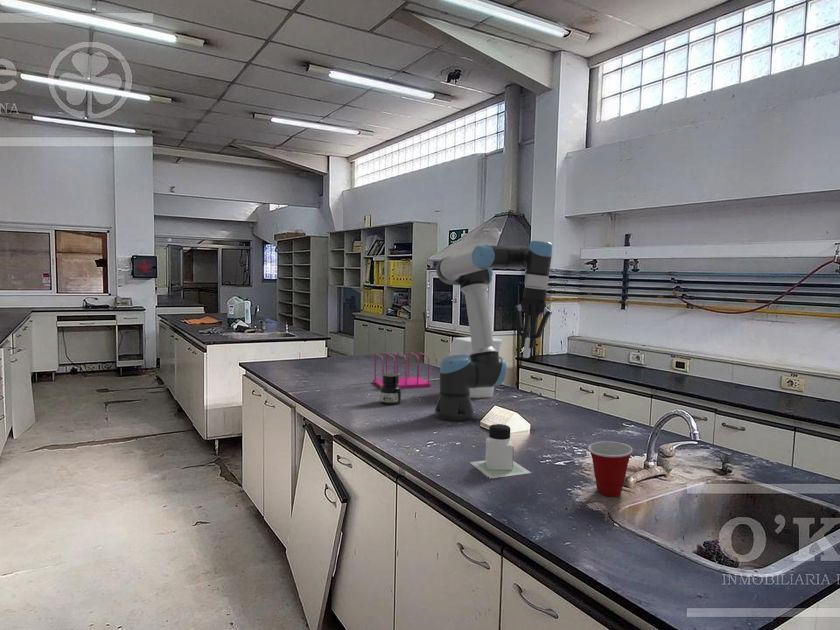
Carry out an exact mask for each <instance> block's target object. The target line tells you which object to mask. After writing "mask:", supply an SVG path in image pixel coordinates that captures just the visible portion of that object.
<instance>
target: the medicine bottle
mask: <svg viewBox="0 0 840 630" xmlns="http://www.w3.org/2000/svg"><path fill="white" fill-rule="evenodd" d="M488 435H489V436H488V437H487V438H485V460H486V464H487V468H488V470H513V461H514V445H513V442H512V440H511V427H510V426H509V425H507V424H505V423H493V424H491V425H490V426H489V433H488Z"/></svg>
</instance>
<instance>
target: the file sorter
mask: <svg viewBox="0 0 840 630" xmlns="http://www.w3.org/2000/svg"><path fill="white" fill-rule="evenodd" d="M410 354H412V355H413V356H415V357H416V359H417V360H416V361H417V364H416V365H417V366H416V367H417V370H416V376H410V375H409V373H410V372H409V371H410ZM399 355H400V356H403V357H404V368H405V369H404V374H405V376H404V377H403V376H402V377H399V383H398V385H399V386H400V387H401V389H412V388H411V387H417V388H430V387H431V385H432V383H430V357H429V355H427V354H425V353H423V352H418V355H417V354H416V353H415V352H412V351H408V354H407V357H406V355H405V354H403V353H401V352H397V353H396V358H395V355H393V354H391V353H390V352H389V353H388V352H387V353H386V354H385V364H384V357H383V355H380V354H378V353H375V354H374V378H373V379H372V383H374V382H375V383H376V384H377V385H378V386H379V387H380V388H381V386H383V385H384V384H383V375H384V374H388V356H390V357H392V358H393V374H398V375H399ZM420 355H423V356H425V357H426V358H427V380H426V379H425V378H422V377H421V376H420ZM377 356H378V357H380V358H381V364H382V366H381V367H382V372H381V375H382V376H381V377H382V378H377ZM395 359H396V360H395ZM384 367H385V369H384ZM384 370H385V371H384ZM375 383H374V384H375ZM376 384H375V385H376ZM377 385H376V386H377ZM378 386H377V387H378ZM379 387H378V388H379ZM380 388H379V389H380Z"/></svg>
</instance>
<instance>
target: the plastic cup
mask: <svg viewBox="0 0 840 630" xmlns="http://www.w3.org/2000/svg"><path fill="white" fill-rule="evenodd" d="M587 449H588V451H589V452H590V455H591V456H590V457H591V459H592V466H593V473H594V479H595V486H596V490H597V492H598V494H600V495H603V496H606V497H619V496H621V494H622V491H623V488H624V487H623V486H624V483H625V479H626V476H627V475H626V474H627V472H628V471H627V470H628V467H629V466H628V464H629V461H630V458H631V454H632V453H633V451H634V450H633V448H632V446H630V445H629V444H626V443H622V442H617V441H598V442H597V441H596V442H593V443H590V444H589V445H588V446H587Z"/></svg>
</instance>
